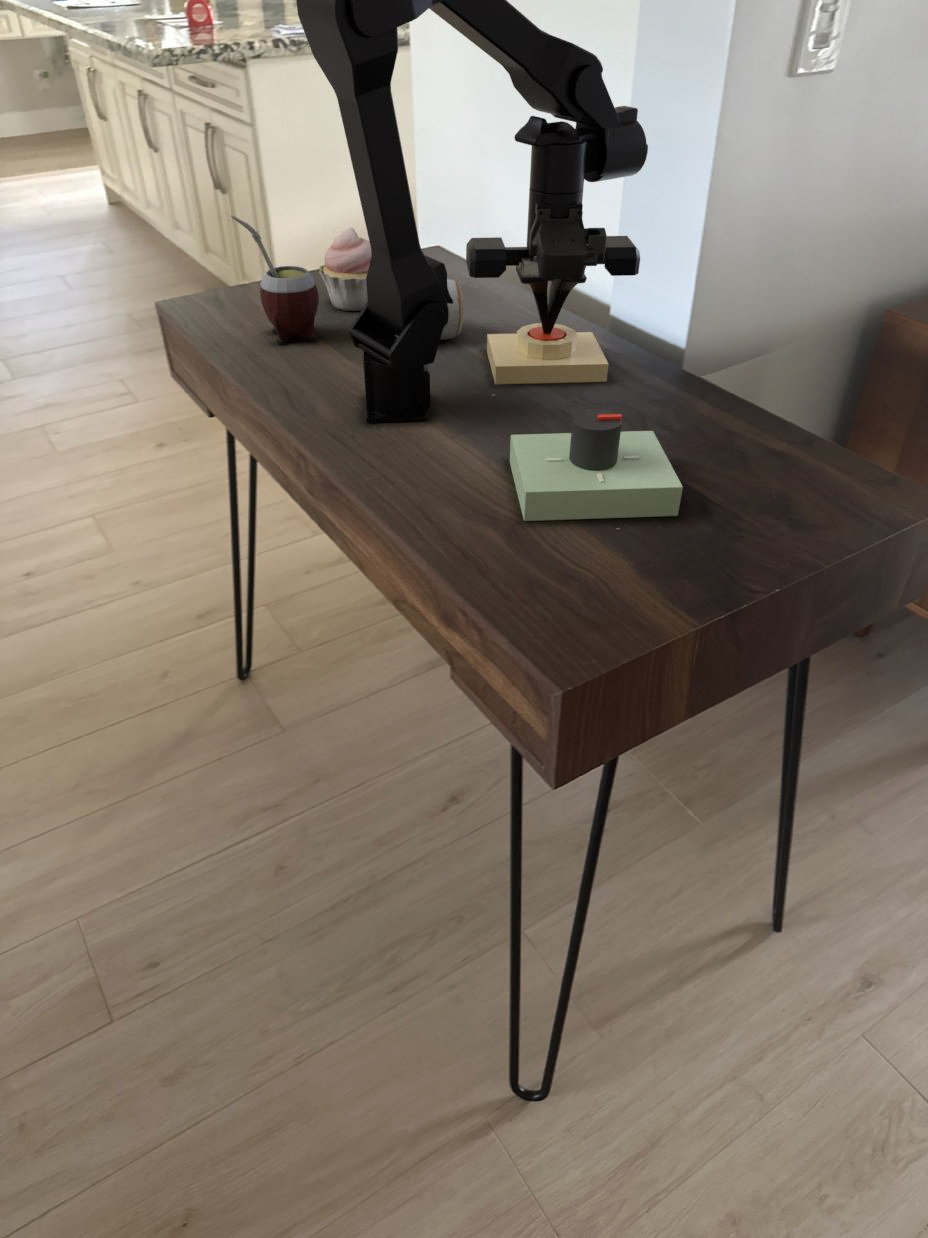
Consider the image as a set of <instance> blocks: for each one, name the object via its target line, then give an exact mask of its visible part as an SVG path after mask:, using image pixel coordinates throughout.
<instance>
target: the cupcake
mask: <svg viewBox="0 0 928 1238" xmlns="http://www.w3.org/2000/svg"><path fill="white" fill-rule="evenodd" d="M371 257H372V252H371V246H370V241H369V239H366V238H363V237H360V236H359V235H358V232H357V231H356V230H355V229H354V228H353V227H352V226H350V227H348V228H347V229H345V230H343V231H341V232H340V233H339V234H338V235H336V237H334V239H333V241H332V244H331V245H330V246H329V248H328V249H327V250H326V251H325V253H324V260H323V262H324V264H323V265H319V266H318V268H319V271H318V272H319V275H320V277H321V279H322V281H323V282H324V285H325V286H326V289H327V292H328V296H329V300H330V302H331V304H332V306H333V307H334V308H336V309H337V310H342V311H347V312H359V311H360V312H361V310H362V309H363V307H364V306H365V304H366V303H367V302H368V298H367V285H366V277H367V273H368V269H369V265H370V261H371Z"/></svg>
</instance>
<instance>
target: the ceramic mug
mask: <svg viewBox="0 0 928 1238" xmlns="http://www.w3.org/2000/svg"><path fill="white" fill-rule="evenodd" d="M447 286H448V291H449V295H450V296H451V298H452V300H453V303H452V304H449V303H448V307H449V319H448V323H447V325H445V326H444V328H443V331H442V335H441V338H440V341H445V340H450V339H451V340H452V339H454V338H457V337H458V336H460V334H461V332H462V329H463V322H464V299H463V298H464V297H463V291H462V286H461V284H460V283H459V282H458V281H457V280H455V279H451V278H447Z"/></svg>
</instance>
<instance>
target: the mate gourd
mask: <svg viewBox="0 0 928 1238" xmlns="http://www.w3.org/2000/svg"><path fill="white" fill-rule="evenodd" d="M230 218H232V219H233V220H234V221H236V222H237V223H238V224H240V225H241V226H243V227H244V228H245V229H246V230H247V231H248V232H249V233H250V234H251V237H252V238H253V241H254V242H255V243H256V244H257V246H258V248H259V250H260V252H261V254H262V257H263V258H264V261H265V263H266V265H267V267H268V270H267V271H266V272H265V273H264V275H263V277H262V279H261V281H260V288H259V296H260V300H261V305H262V308H263V311H264V313H265V315H266V318H267V319H268V320H269V322H270V324H271V325H272V326H273V328H271V331H272V334H274V335H277V336H278V339H276V343H277V345H280V346H283V345H285V344H287V343H289V342H291V341H293V340H296V339H297V340H301V341H306V342H315V341H316V336H315V335H314V334H313V333H314V328H315V319H316V318H315V317H316V315H317V312H318V308H319V303H320V302H319V298H320V296H319V291H318V287H317V284H316V281H315V278H314V277H313V276H312V274H311V272H310V271H309V270H308V269H306V268H304V267H303V266H302V267H301V266H297V265H283V266H282V265H281V266H276V267H274V264H273V262H272V261H271V258H270V257H269V255H268V252H267V250H266V247H265V246H264V244H263V242H262V237H261V235H260V234H259V232H258V231H256V230H255V228H254V227H253V226H252V225H250V224H249V223H248V222H246V221H244V220H242V219H240V218H238V217H236V216H234V215H233V214H231V215H230Z"/></svg>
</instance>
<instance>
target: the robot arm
mask: <svg viewBox="0 0 928 1238" xmlns="http://www.w3.org/2000/svg"><path fill="white" fill-rule="evenodd" d="M295 2H296V11H297V16H298V19H299V22H300V24H301V27H302V30H303V32H304V35H305V37H306V40H307V43H308V45H309V48H310V51H311V53H312V56H313V57H314V59H315V62H316V64H318V67H319V68H320V69H321V71H322V73H323V74H324V76H325V78H326V80H327V81H328V83H329V84H330V86H331V87H332V89H333V92H334V94H335V96H336V99H337V103H338V109H339V111H340V117H341V122H342V126H343V129H344V134H345V139H346V143H347V148H348V152H349V153H348V154H349V156H350V161H351V166H352V170H353V174H354V175H353V176H354V178H355V183H356V189H357V192H358V195H359V196H358V197H359V201H360V206H361V209H362V215H363V218H364V224H365V227H366V233H367V236H368V237H367V238H368V241H370V246H371V252H372V257H371V261H370V265H369V269H368V273H367V277H366V285H367V298H368V302H367V303H366V304H365V306H364V307H363V309H362V310H361V311H360V312H359V313H358V315H357V316H356V318H355V319H354V320H353V322H352V324H351V325H350V326H349V328H348V329H347V331H348V335H349V337H350V339H351V341H352V345H353V346H354V347H355V348H357V349H360V350H361V351H363V356H362V357H363V358H362V361H363V363H362V364H363V376H364V379H363V380H364V391H365V392H364V394H365V407H364V408H365V411H364V413H365V415H364V419H365V422H366V423H397V422H400V423H401V422H424V421H427V420H428V416H427V410H428V409H430V408H431V371H430V364H433V363H434V362H435V360H436V355H437V352H438V349H439V345H440V342H441V340H440V338H441V335H442V331H443V328H444V326H445V325H447V323H448V319H449V307H448V303H449V304H452V303H453V300H452V298H451V296H450V295H449V291H448V286H447V279H448V271H447V267H446V264H445V263H444V262H442V261H439V260H437V259H435V258H432V257H430V256H428V255H426V254H424V252H423V250H422V247H421V243H420V238H419V233H418V227H417V222H416V218H415V217H416V216H415V211H414V206H413V201H412V196H411V195H412V194H411V190H410V185H409V179H408V174H407V168H406V163H405V158H404V153H403V147H402V142H401V136H400V131H399V125H398V121H397V120H398V119H397V116H396V115H397V114H396V109H395V104H394V99H393V94H392V80H393V75H394V70H395V66H396V61H397V57H398V53H399V33H398V28H400V27H402V26H404V25H406V24H408V23H410V22H413V21H414V20H417V19H418V18H420V16H422V15H423V14H424V13H425V12H427V11H428V10H431V11H432V12H433V13H434V14H435V15H436V16H438V17H439V18H441V19H442V20H443V21H444V22H445V23H447V24H448V25H450V26H451V27H452V28H453V29H455V30H456V31H457V32H459V33H460V34H461V35H462V36H463V37H465V38H466V39H467V40H469V41H470V42H471V43H473V44H474V45H475V46H477V48H479V49H480V50H481V51H483V52H484V53H486V54H487V55H488V56H489V57H490V58H492V59H493V60H494V61H496V62H497V63H498V64H500V66H502V67H503V69H504V70H505V71H506V72H507V73H508V75H509V77H510V80H511V83H512V86H513V88H514V89H515V90H516V91H517V92H518V94H519V95H520V96H521V97H522V98H523V100H524V101H525V102H526V103H527V104H528V105H529V106H530V107H531V108H532V109H533V110H536V111H538V112H541V113H544V114H545V113H546V114H550V115H551V116H553V117H554V118H556V119H560V121H553V122H548V121H547V119H546V118H545V117H540V116H535V115H530V117H529V119H528V120H527V122H526V123H524V125H523V126H522V127H520V129H518V131H517V132H516V133H515V135H514V136H513V137H514V141H515V142H517V143H520V144H524V145H528V146H530V147H531V153H530V156H531V157H530V173H529V189H528V190H529V192H528V210H527V231H526V233H527V234H526V246H505V243H504V241H503V238H502V237H498V236H497V237H471V238H470V239H469V241H468V242H466V246H465V252H466V253H465V263H466V267H467V271H468V275H469V277H471V278H474V279H495V278H497V279H498V278H500V277H501V276H502V275H503V274H504V273H505V272H506V271H507V267H509V266H511V267H513V266H515V271H516V273H517V276H518V279H519V281H520V283H521V284H523V285H529V286H530V288H531V291H532V294H533V297H534V301H535V305H536V309H537V314H538V317H539V321H540V323H541V325H542V329H543V332H544V334H547V333H548V334H550V333H551V332H552V329H553V327H554V325H555V324H556V322H557V321H558V317H559V315H560V312H561V310H562V308H563V306H564V303H565V302H566V300H567V298H568V296H569V294H570V293H571V291H572V290H573V289H574V288H575V287H576V286H577V285H578V284H585V283H586V281H587V279H588V278H587V276H586V274H585V272H586V269H587V267H597V266H598V265H603V267H604V270H606V272H608V274H609V275H610V276H612V277H615V276H616V277H618V276H619V277H621V276H625V277H627V276H636V275H639V273H640V265H641V264H640V263H641V251H640V250H639V249H638V247H637V245H635V244H634V242H633V241H632V240H631V238H630V237H629V236H628V235H607V232H606V228H605V227H585V226H584V225H585V224H584V219H583V213H584V212H583V207H584V205H583V197H584V188H585V187H584V186H585V182H588V183H597V182H603V181H609V180H614V179H619V178H626V177H631V176H634V175H637V174H638V173H639V172H640V171H641V170H642V169H643V167H644V165H645V163H646V161H647V157H648V153H649V152H648V151H649V145H648V143H647V137H646V134H645V130H644V128H643V125H642V124H640V122H639V121H638V113H639V109H638V108H637V107H633V106H628V105H619V106H616V107H615V105H614V103H613V101H612V98H611V96H610V93H609V91H608V89H607V86H606V84H605V81H604V78H603V71H604V67H603V64H602V62H601V61H600V59H599V58H598V56H597V55H596V54H594V53H593V52H591V51H589V50H587V49H584V48H583V47H581V46H579V45H577V44H575V43H573V42H570V41H568V40H565V39H562V38H560V37H558V36H555V35H552V34H551V33H548V32H546V31H544V30H542V29H541V28H539V27H538V26H537V25H536V24H535V23H533V22H532V21H531V20H530V19H529V18H528V17H527V16H526V15H524V14H523V13H522V12H520V11H519V10H518V9H517V8H516V7H515V6H514V5H512V4H511V2H509V1H508V0H295ZM561 120H564V121H561ZM569 122H572V123H575V127H574V126H573V125H572V124H571V123H569ZM549 282H550V285H549ZM548 285H549V286H548ZM548 287H549V292H548ZM548 293H549V294H548Z"/></svg>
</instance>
